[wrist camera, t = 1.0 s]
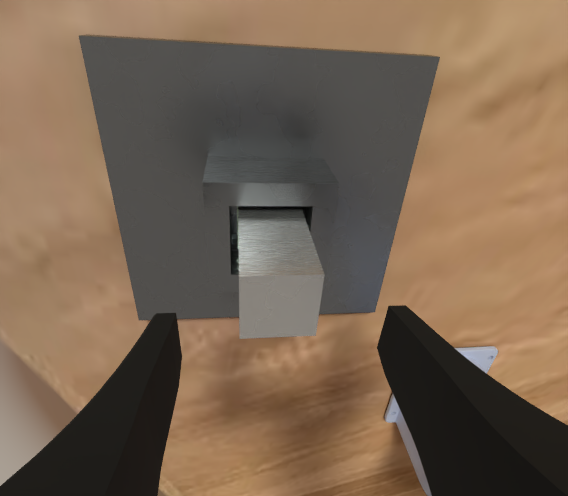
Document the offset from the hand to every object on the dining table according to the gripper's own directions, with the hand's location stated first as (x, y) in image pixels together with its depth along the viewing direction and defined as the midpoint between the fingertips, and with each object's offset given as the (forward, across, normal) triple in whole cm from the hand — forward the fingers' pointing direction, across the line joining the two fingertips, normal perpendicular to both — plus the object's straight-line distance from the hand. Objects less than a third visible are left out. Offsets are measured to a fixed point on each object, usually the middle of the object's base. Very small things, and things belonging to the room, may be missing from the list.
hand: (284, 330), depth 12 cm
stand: (+10, 0, 0) cm, 10 cm away
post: (+9, 0, 0) cm, 9 cm away
